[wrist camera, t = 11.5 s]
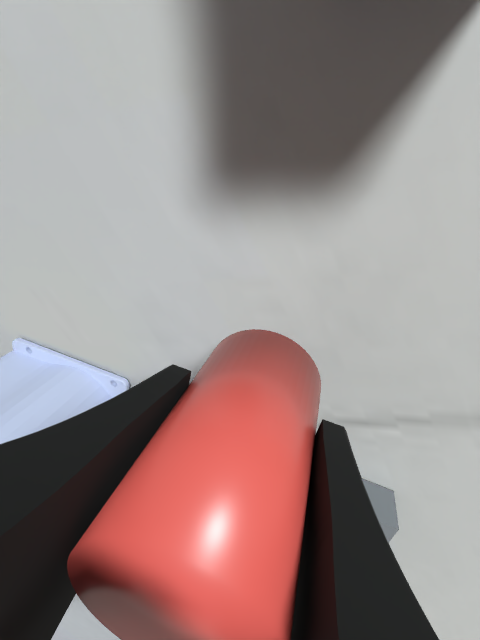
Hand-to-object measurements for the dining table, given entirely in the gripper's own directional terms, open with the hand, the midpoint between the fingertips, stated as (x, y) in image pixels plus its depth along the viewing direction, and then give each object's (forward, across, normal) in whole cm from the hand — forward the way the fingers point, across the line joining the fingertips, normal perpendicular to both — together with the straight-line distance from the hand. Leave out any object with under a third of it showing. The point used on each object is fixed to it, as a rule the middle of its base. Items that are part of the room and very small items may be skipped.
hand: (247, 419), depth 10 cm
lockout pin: (+2, 0, 0) cm, 2 cm away
